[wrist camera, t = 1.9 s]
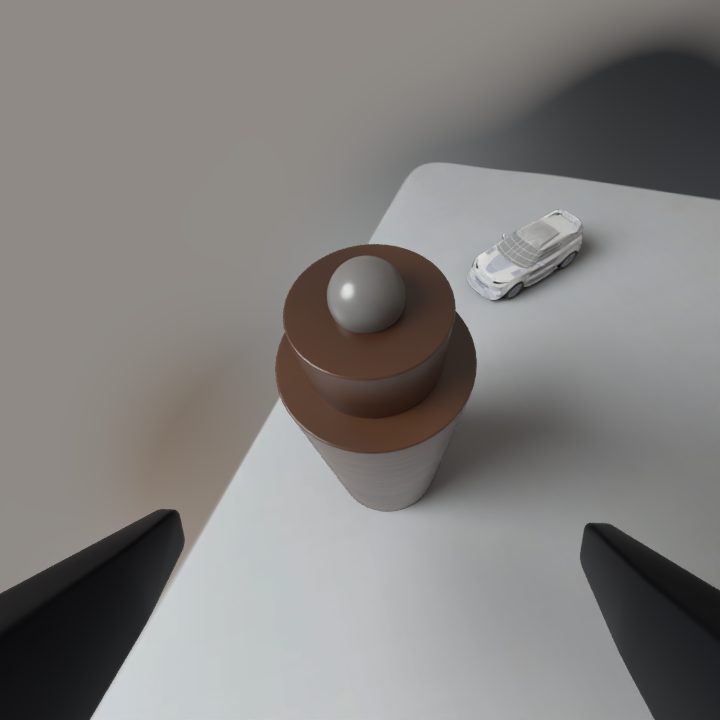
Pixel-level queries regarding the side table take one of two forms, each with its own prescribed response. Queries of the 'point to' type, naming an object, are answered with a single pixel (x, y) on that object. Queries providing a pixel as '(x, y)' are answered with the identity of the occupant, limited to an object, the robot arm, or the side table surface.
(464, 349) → the pepper mill
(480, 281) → the toy car
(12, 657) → the robot arm
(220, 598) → the side table surface
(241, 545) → the side table surface
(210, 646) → the side table surface
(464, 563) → the side table surface
